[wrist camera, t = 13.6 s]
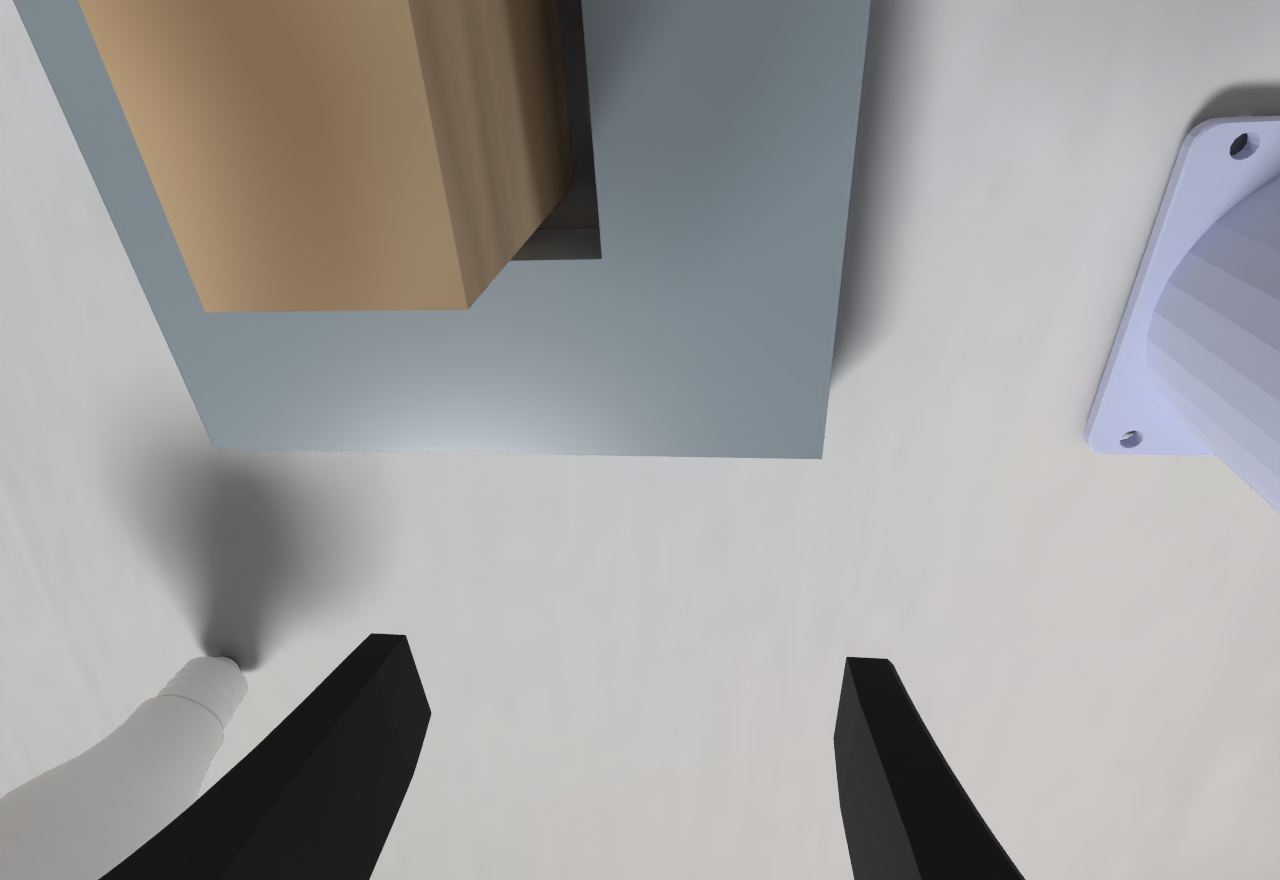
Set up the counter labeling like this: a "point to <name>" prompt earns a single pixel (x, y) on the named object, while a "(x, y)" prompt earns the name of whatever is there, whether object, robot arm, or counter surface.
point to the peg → (343, 142)
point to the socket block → (562, 261)
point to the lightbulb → (121, 781)
